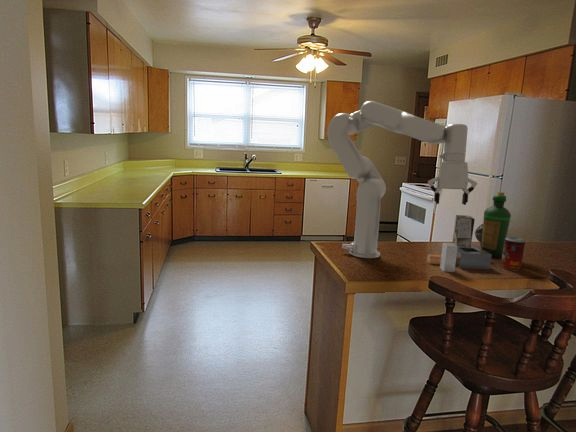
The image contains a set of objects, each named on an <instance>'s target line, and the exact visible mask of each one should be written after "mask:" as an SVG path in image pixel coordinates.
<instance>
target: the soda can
mask: <svg viewBox="0 0 576 432" xmlns="http://www.w3.org/2000/svg"><path fill="white" fill-rule="evenodd" d="M525 245H526V241H525V240H524V239H523V238H520V237H517V236H506V238H505V241H504V248H503V255H502V257H501V262H500V263H501V266H502V268H503V269H505V270H509V271H519V270H520V268H521V267H522V265H523V264H522V263H523V258H524V251H525Z"/></svg>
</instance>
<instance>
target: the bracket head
mask: <svg viewBox="0 0 576 432" xmlns="http://www.w3.org/2000/svg"><path fill="white" fill-rule="evenodd" d="M492 258H493V257H492V254H490V253H488V252H486V251H484V250H482V249H481V247H480V246H472V245H471V246H458V248H457V256H456V263H455V267H457V268H458V269H466V270H467V269H469V270H471V269H472V270H490V268H491V262H492ZM440 262H441V254H431V253H430V254H427V255H426V263H428V264H430V265H440Z"/></svg>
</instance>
